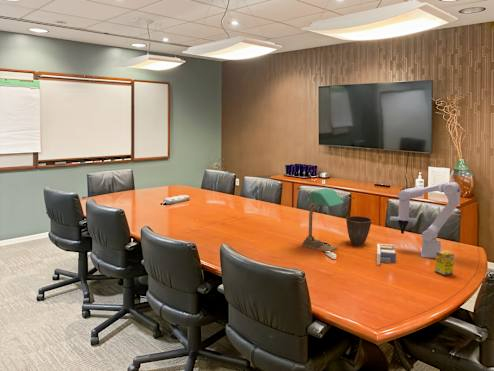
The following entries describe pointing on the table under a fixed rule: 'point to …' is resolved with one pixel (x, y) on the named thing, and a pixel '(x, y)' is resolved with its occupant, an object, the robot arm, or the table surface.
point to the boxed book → (388, 254)
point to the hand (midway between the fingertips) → (402, 233)
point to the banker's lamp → (316, 197)
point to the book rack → (380, 259)
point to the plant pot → (358, 229)
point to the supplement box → (444, 262)
